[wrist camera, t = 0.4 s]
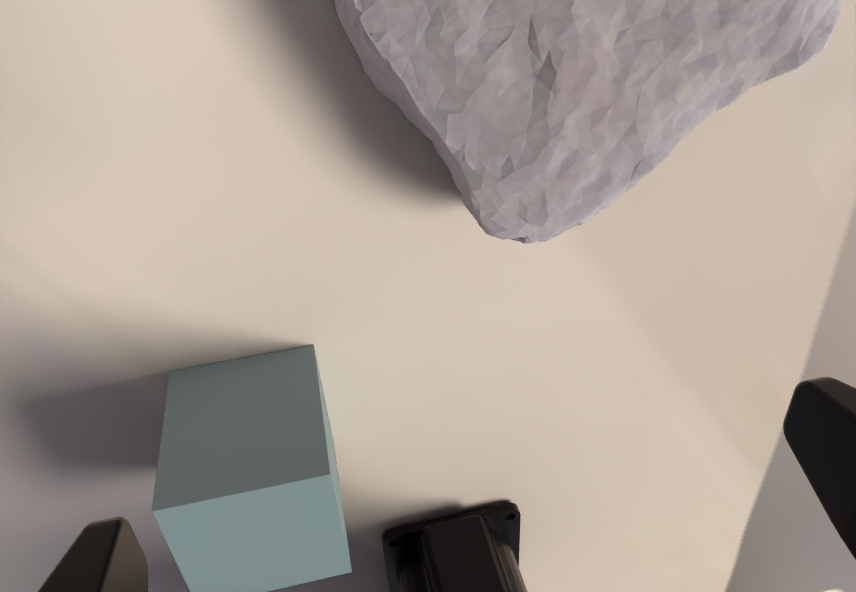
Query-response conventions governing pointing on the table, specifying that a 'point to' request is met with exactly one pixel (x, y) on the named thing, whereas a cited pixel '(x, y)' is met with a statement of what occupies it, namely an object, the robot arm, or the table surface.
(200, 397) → the slate block
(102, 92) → the table surface
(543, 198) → the stone block
